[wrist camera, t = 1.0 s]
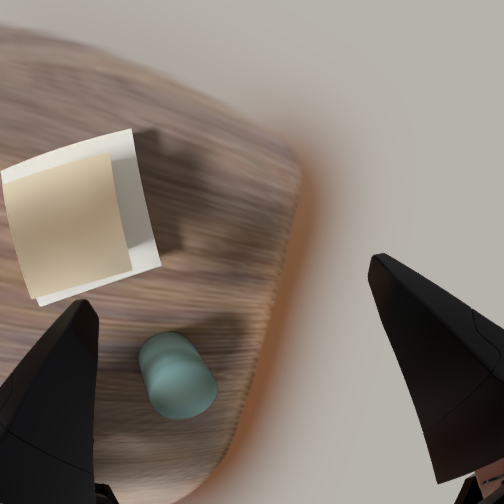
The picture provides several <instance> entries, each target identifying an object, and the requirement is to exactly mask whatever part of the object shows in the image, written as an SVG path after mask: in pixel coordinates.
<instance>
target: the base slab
mask: <svg viewBox="0 0 504 504" xmlns="http://www.w3.org/2000/svg"><path fill="white" fill-rule="evenodd" d="M106 153H110V158H111V165H112V172H113V178H114V184H115V190H116V196H117V201H118V207H119V212H120V217H121V221H122V226H123V231H124V235H125V240H126V244H127V248H128V252H129V256H130V260H131V264H132V268H133V270H132V271H129V272H125V273H122V274H118V275H115V276H111V277H107V278H104V279H100V280H97V281H93V282H90V283H86V284H83V285H79V286H76V287H72V288H69V289H66V290H62V291H59V292H55V293H52V294H48V295H45V296H42V297H38V298H36V299H37V301H38V303H39V306H40V307H41V306H44V305H47V304H50V303H53V302H56V301H59V300H61V299H64V298H67V297H70V296H73V295H76V294H79V293H82V292H85V291H88V290H90V289H93V288H96V287H99V286H102V285H105V284H108V283H111V282H114V281H117V280H120V279H123V278H126V277H129V276H132V275H135V274H138V273H141V272H144V271H147V270H150V269H153V268H156V267H159V266H162V265H161V261H160V258H159V254H158V250H157V247H156V243H155V239H154V235H153V231H152V227H151V223H150V219H149V215H148V210H147V206H146V202H145V197H144V192H143V188H142V183H141V178H140V173H139V168H138V163H137V158H136V152H135V146H134V141H133V135H132V129H127V130H123V131H119V132H115V133H111V134H107V135H103V136H99V137H96V138H92V139H88V140H85V141H82V142H78V143H75V144H72V145H69V146H65V147H62V148H59V149H56V150H53V151H51V152H48V153H45V154H42V155H39V156H37V157H34V158H31V159H29V160H26V161H24V162H21V163H19V164H16V165H14V166H12V167H9V168H7V169H5V170H2V171H1V176H2V182H3V184H6V183H8V182H11V181H14V180H16V179H19V178H22V177H25V176H28V175H31V174H34V173H37V172H40V171H43V170H46V169H50V168H53V167H56V166H60V165H63V164H67V163H70V162H74V161H77V160H81V159H85V158H89V157H93V156H97V155H101V154H106Z"/></svg>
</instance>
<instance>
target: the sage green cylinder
mask: <svg viewBox="0 0 504 504" xmlns="http://www.w3.org/2000/svg"><path fill="white" fill-rule="evenodd" d="M138 362H139V366H140V369H141V373H142V376H143V380H144V383H145V386H146V389H147V393H148V396H149V399H150V402H151V405H152V407H153V408H154V410H155V411H156V412H157V413H159V414H160V415H162V416H164V417H166V418H170V419H187V418H191V417H194V416H196V415H199V414H200V413H202V412H203V411H205V410H206V409H207V408H208V407H209V406H210V405H211V404H212V403H213V401H214V400H215V398H216V395H217V390H218V387H217V382H216V380H215V378H214V377H213V375H212V374H211V372H210V371H209V369H208V368H207V366H206V365H205V363H204V362H203V360H202V359H201V357H200V355H199V354H198V352H197V351H196V349H195V348H194V346H193V344H192V343H191V341H190V340H189V339H188V338H187V337H185V336H183V335H181V334H179V333H175V332H164V333H159V334H156V335H154V336H152V337H151V338H149V339H148V340H147V341H146V342H145V343H144V344H143V345H142V347H141V349H140V351H139V355H138Z"/></svg>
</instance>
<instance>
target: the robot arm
mask: <svg viewBox="0 0 504 504" xmlns="http://www.w3.org/2000/svg"><path fill="white" fill-rule="evenodd" d="M368 282H369V285H370V288H371V291H372V294H373V297H374V300H375V303H376V306H377V309H378V312H379V316H380V319H381V321H382V324H383V327H384V329H385V331H386V333H387V336H388V338H389V341H390V343H391V346H392V348H393V350H394V353H395V355H396V358H397V360H398V363H399V366H400V368H401V371H402V373H403V376H404V379H405V381H406V384H407V387H408V389H409V392H410V395H411V398H412V401H413V403H414V406H415V409H416V412H417V415H418V418H419V421H420V424H421V427H422V431H423V432H424V433H423V434H424V438H425V441H426V444H427V448H428V451H429V455H430V458H431V462H432V465H433V469H434V473H435V477H436V481H437V483H438V484H441V483H444V482H447V481H450V480H453V479H456V478H458V477H461V476H464V475H466V474H469V473H471V472H474V471H475V473H474V474H473V475H471V476H470V477H468V478H466V479H465V482H464V484H463V486H462V488H461V491H460V493H459V495H458V497H457V499H456V501H455V503H454V504H504V329H503V328H501V327H500V326H498V325H496V324H495V323H493V322H492V321H490V320H489V319H487V318H486V317H484V316H483V315H481V314H480V313H478V312H477V311H475V310H474V309H471V307H470V306H468V305H466V304H465V303H463V302H462V301H461V300H459V299H458V298H456V297H454V296H453V295H451V294H450V293H449V292H447V291H445V290H444V289H442V288H441V287H439V286H438V285H436V284H435V283H433V282H431V281H430V280H428V279H427V278H425V277H423V276H422V275H420V274H419V273H417V272H415V271H414V270H412V269H411V268H409V267H407V266H406V265H404V264H402V263H401V262H399V261H397V260H396V259H394V258H392V257H391V256H389V255H387V254H385V253H381V254H376V255H373V256H372V258H371V262H370V267H369V272H368ZM98 337H99V318H98V315H97V313H96V312H95V310H94V309H93V307H92V306H91V304H90V303H89V301H88V300H87V299H78V300H75V301H74V302H73V303H72V304H71V305H70V306H69V307H68V308H67V309H66V310H65V311H64V312H63V314H62V315H61V316H60V317H59V318H58V319H57V320H56V321H55V322H54V323H53V324H52V326H51V327H50V328H49V329H48V330H47V331H46V332H45V333H44V335H43V336H42V337H41V338H40V339H39V340H38V341H37V343H36V344H35V345H34V346H33V347H32V348H31V350H30V351H29V352H28V353H27V354H26V356H25V357H24V358H23V359H22V360H21V362H20V363H19V364H18V365H17V367H16V368H15V369H14V370H13V372H12V373H11V374H10V375H9V377H8V378H7V379H6V381H5V382H4V383H3V384H2V386H1V387H0V504H119V503H118V501H117V499H116V497H115V496H114V494H113V492H112V490H111V488H110V486H109V485H106V484H98V483H94V474H93V473H94V467H93V443H94V438H93V421H94V400H95V387H96V376H97V365H98Z"/></svg>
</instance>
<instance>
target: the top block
mask: <svg viewBox="0 0 504 504" xmlns="http://www.w3.org/2000/svg"><path fill="white" fill-rule="evenodd" d="M2 187H3V194H4V200H5V206H6V211H7V216H8V221H9V225H10V230H11V234H12V238H13V242H14V246H15V250H16V253H17V257H18V260H19V264H20V267H21V270H22V274H23V277H24V280H25V283H26V286H27V288H28V291H29V294H30V297H31V299H35V298H38V297H42V296H45V295H48V294H52V293H55V292H59V291H62V290H66V289H69V288H72V287H76V286H79V285H83V284H86V283H90V282H93V281H97V280H100V279H104V278H107V277H111V276H115V275H118V274H122V273H125V272H129V271H132V270H133V268H132V264H131V260H130V256H129V252H128V248H127V244H126V240H125V235H124V231H123V226H122V221H121V217H120V212H119V207H118V201H117V196H116V190H115V184H114V178H113V172H112V165H111V158H110V153H106V154H101V155H97V156H93V157H89V158H85V159H81V160H77V161H74V162H70V163H67V164H63V165H60V166H56V167H53V168H50V169H46V170H43V171H40V172H37V173H34V174H31V175H28V176H25V177H22V178H19V179H16V180H14V181H11V182H8V183H6V184H3V185H2Z"/></svg>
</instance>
